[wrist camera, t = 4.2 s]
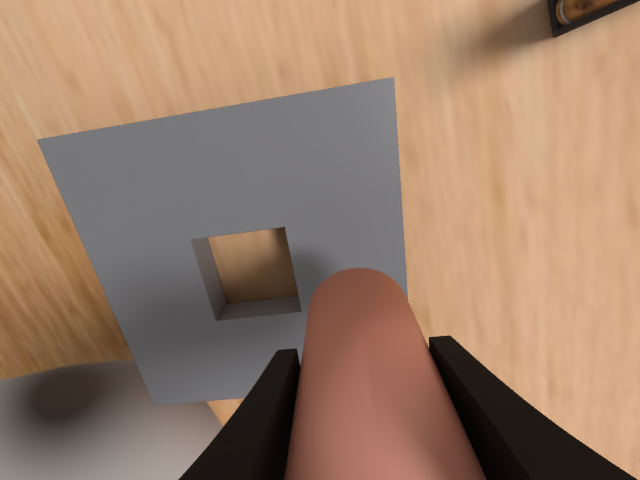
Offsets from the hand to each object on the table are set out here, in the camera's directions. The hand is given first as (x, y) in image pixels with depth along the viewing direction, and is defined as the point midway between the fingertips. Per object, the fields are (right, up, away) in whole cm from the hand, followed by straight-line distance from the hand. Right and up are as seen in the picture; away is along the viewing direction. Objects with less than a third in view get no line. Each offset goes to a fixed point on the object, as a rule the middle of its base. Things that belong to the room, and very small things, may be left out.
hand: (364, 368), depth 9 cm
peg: (0, +1, +3) cm, 3 cm away
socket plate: (-5, +3, +10) cm, 12 cm away
